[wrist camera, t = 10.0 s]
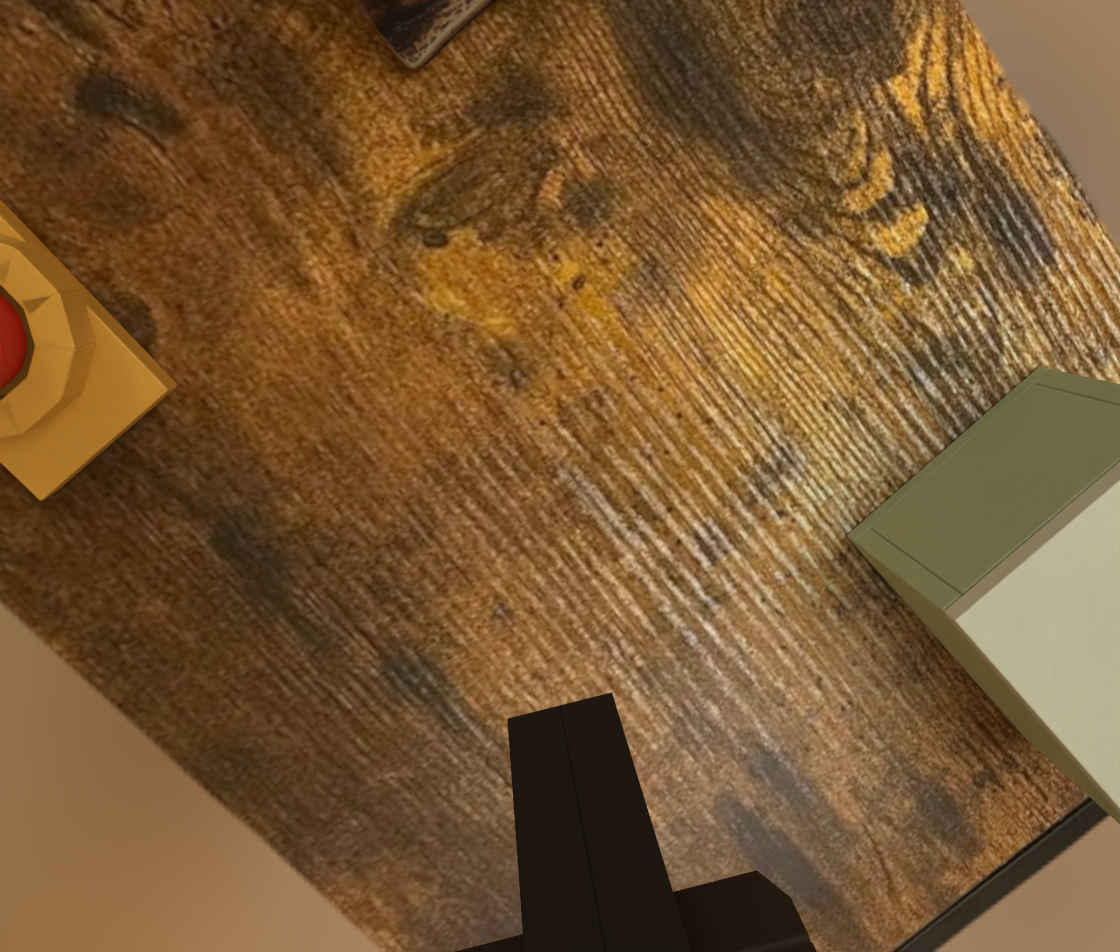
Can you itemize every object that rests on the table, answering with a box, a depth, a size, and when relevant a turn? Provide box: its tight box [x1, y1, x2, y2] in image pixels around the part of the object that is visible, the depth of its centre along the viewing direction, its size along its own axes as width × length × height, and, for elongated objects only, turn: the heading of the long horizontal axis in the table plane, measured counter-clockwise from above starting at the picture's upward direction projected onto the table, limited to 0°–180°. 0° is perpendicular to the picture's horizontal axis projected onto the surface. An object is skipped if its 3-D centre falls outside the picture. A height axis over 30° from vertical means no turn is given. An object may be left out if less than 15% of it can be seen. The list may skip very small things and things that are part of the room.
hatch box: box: [847, 367, 1120, 824], centre depth 34 cm, size 13×10×8 cm
